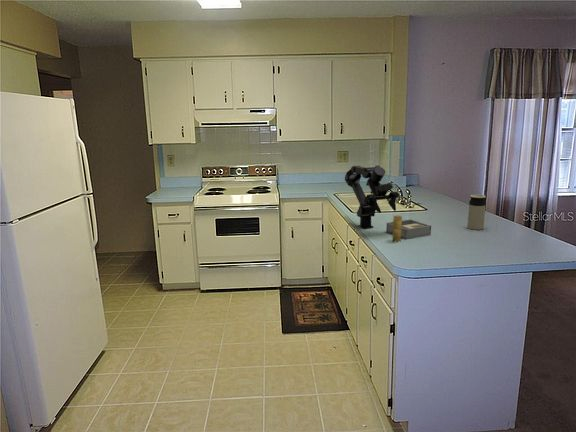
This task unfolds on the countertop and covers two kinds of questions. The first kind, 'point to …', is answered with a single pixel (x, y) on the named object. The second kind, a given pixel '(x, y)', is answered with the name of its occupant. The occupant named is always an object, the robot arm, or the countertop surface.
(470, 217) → the travel mug
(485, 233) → the countertop surface
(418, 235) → the bore box
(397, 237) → the peg
